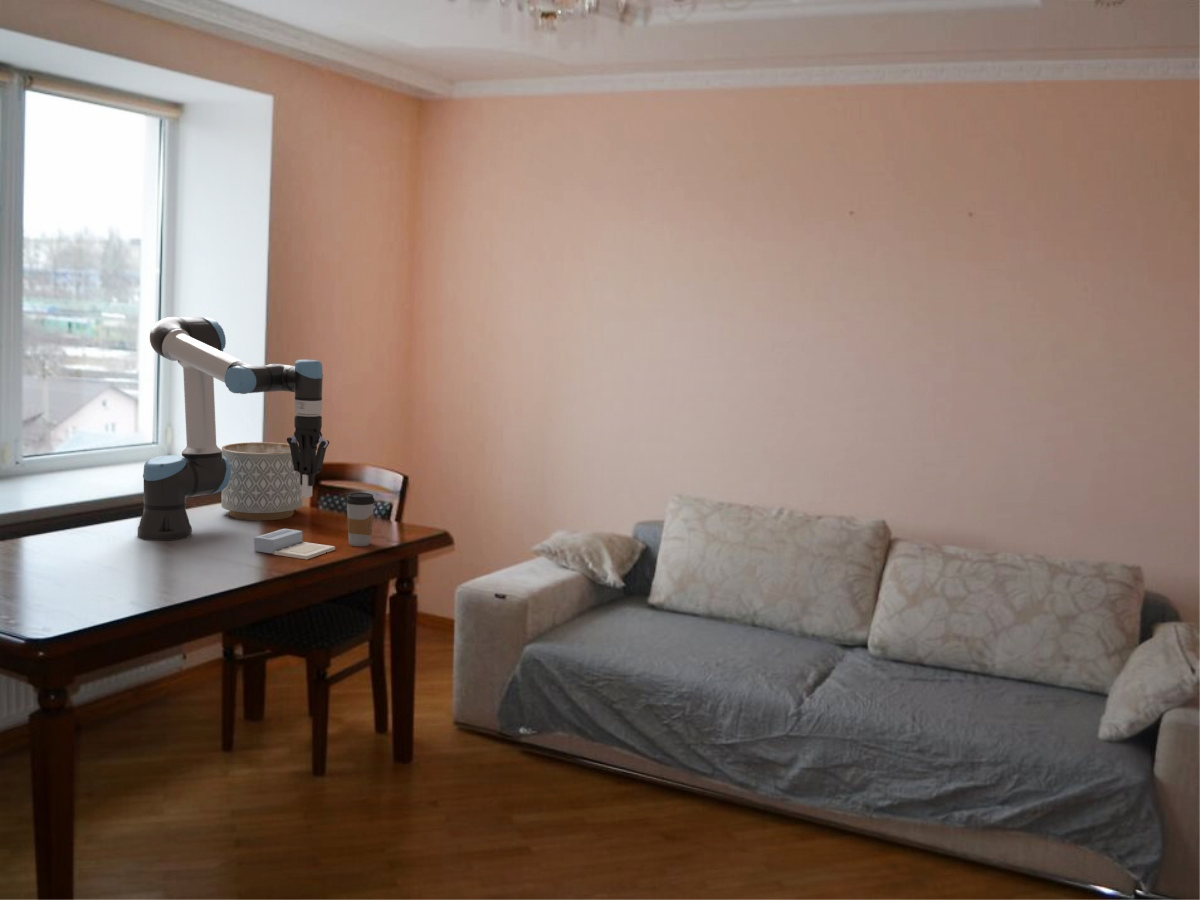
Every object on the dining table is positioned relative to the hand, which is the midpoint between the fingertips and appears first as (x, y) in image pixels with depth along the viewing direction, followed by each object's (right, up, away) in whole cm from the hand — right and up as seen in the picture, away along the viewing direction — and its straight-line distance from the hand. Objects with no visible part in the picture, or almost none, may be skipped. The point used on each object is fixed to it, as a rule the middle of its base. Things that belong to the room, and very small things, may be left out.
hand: (307, 496), depth 325 cm
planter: (-28, -8, +51) cm, 59 cm away
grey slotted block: (-10, -15, +6) cm, 19 cm away
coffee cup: (+12, -15, +16) cm, 25 cm away
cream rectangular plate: (-1, -16, +2) cm, 16 cm away
